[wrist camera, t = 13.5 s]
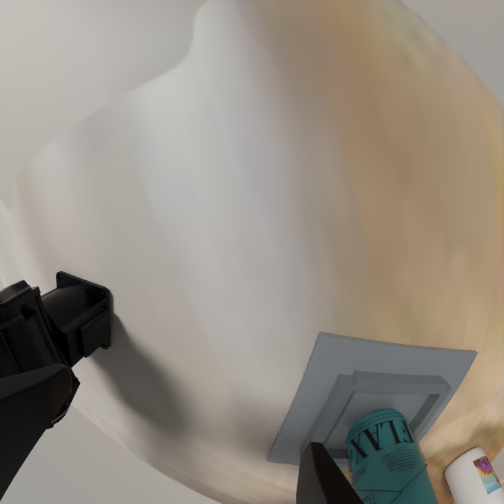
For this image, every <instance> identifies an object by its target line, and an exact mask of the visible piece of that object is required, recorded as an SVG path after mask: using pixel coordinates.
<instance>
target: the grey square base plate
mask: <svg viewBox="0 0 504 504" xmlns="http://www.w3.org/2000/svg"><path fill="white" fill-rule="evenodd" d="M477 354H478V353H477V352H476V351H472V350H457V349H444V348H432V347H422V346H413V345H404V344H396V343H388V342H380V341H373V340H366V339H359V338H353V337H346V336H340V335H334V334H328V333H322V332H319V335H318V338H317V340H316V343H315V346H314V349H313V352H312V354H311V357H310V360H309V362H308V365H307V367H306V370H305V373H304V375H303V378H302V380H301V383H300V385H299V388H298V390H297V393H296V395H295V397H294V400H293V402H292V404H291V407H290V409H289V411H288V414H287V416H286V418H285V420H284V423H283V425H282V427H281V429H280V431H279V434H278V436H277V438H276V440H275V442H274V444H273V446H272V448H271V450H270V452H269V454H268V456H267V460H266V461H268V462H275V463H284V464H294V465H300V459H301V455H302V453H303V451H304V450H305V448H306V446H307V445H308V443H309V442H311V441H313V442H321V443H322V444H323V445H324V446H325V448H326V449H327V451H328V452H329V454H330V455H331V457H332V458H333V460H334V461H335V463H336V464H337V466H338V467H351V466H350V461H349V455H348V453H346V449H347V444H346V441H345V440H346V438H347V434H348V431H349V430H350V428H351V427H352V426H353V425H354V424H355V423H356V422H358V421H359V420H360V419H362V418H363V417H365V416H367V415H369V414H372V413H374V412H377V411H381V410H396V411H399V412H400V413H402V414H403V415H405V418H406V420H407V419H408V420H407V422H408V424H409V426H410V424H411V427H410V429H411V431H414V435H413V436H414V438H415V441H416V440H417V441H416V443H417V442H418V443H419V442H420V440H421V439H422V438H423V437H424V435H425V434H426V433H427V432H428V430H429V429H430V428H431V427H432V425H433V424H434V423H435V421H436V420H437V418H438V417H439V416H440V414H441V413H442V412H443V410H444V409H445V407H446V406H447V404H448V403H449V401H450V400H451V398H452V397H453V395H454V394H455V392H456V390H457V389H458V387H459V386H460V384H461V382H462V381H463V379H464V377H465V376H466V374H467V372H468V370H469V369H470V367H471V365H472V363H473V361H474V359H475V357H476V356H477ZM412 434H413V432H412ZM418 443H417V444H418ZM345 445H346V446H345ZM345 447H346V448H345ZM347 452H348V450H347ZM347 455H348V459H347ZM348 461H349V465H348Z"/></svg>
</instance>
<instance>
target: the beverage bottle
mask: <svg viewBox="0 0 504 504" xmlns="http://www.w3.org/2000/svg"><path fill="white" fill-rule="evenodd" d="M407 420H408V419H407ZM407 420H406V418H405V415H403V414H402V413H400V412H399V411H396V410H381V411H377V412H374V413H372V414H369V415H367V416H365V417H363V418H362V419H360V420H359V421H358V422H356V423H355V424H354V425H353V426H352V427H351V428H350V430H349V431H348V434H347V438H346V440H345V441H346V444H347V449H346V453H348V455H349V461H350V466H351V471H350V467H349V471H350V472H352V475H350V476H352V478H353V479H352V480H353V483H352V482H351V484H353V486H354V490H355V491H356V492H357V494H358V495H359V497H360V498H361V499H362V501H363V502H364V503H365V504H438V501H437V498H436V495H435V492H434V490H433V487H432V484H431V481H430V479H429V476H428V473H427V469H426V467H427V464H424V461H425V460H424V461H423V458H422V456H421V453H420V451H421V450H420V451H419V448H418V446H419V445H418V446H417V443H418V442H417V443H416V441H417V440H416V441H415V438H414V436H413V435H414V431H411V429H410V427H411V424H410V426H409V424H408V422H407ZM412 432H413V434H412ZM345 446H346V445H345ZM419 447H420V446H419ZM345 448H346V447H345ZM420 449H421V448H420ZM347 450H348V452H347ZM422 454H423V453H422ZM348 455H347V459H348ZM423 457H424V456H423ZM349 461H348V465H349ZM425 465H426V466H425Z"/></svg>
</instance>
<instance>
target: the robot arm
mask: <svg viewBox="0 0 504 504" xmlns="http://www.w3.org/2000/svg"><path fill="white" fill-rule="evenodd" d="M56 282H57V288H56V289H54V290H52V291H50V292H48V293H46V294H44V295H42V296H41V295H40V293H41V292H40V289H39V286H38V287H33V288H31V287H30V285H28V284H27V283H26V282H25V280H22V281H19V282H17V283H15V284H13V285H10V286H8V287H6V288H4V289H3V290H1V291H0V501H1V499H2V497H3V495H4V494H5V492H6V490H7V489H8V487H9V485H10V484H11V482H12V480H13V479H14V477H15V475H16V474H17V472H18V471H19V469H20V467H21V466H22V464H23V463H24V461H25V460H26V458H27V457H28V455H29V454H30V452H31V450H32V449H33V447H34V446H35V444H36V443H37V442H38V440H39V439H40V437H41V436H42V434H43V433H44V431H45V430H46V429H49V428H52V427H53V426H54V424H55V423H57V422H59V421H60V420H61V419H62V418H63V417H64V416H65V414H66V413H67V411H68V408H69V406H70V404H71V402H72V400H73V398H74V396H75V393H76V391H77V389H78V387H79V385H80V382H79V380H78V378H77V377H76V376H75V374H74V373H73V371H72V369H71V368H72V367H73V366H74V365H75V364H76V363H77V362H78V361H80V360H81V359H82V358H83V357H85V358H87V357H89V356H90V355H91V354H92V353H93V352H94V351H95V350H96V349H97V348H98V347H101V348H103V349H108V348H109V347H110V346H111V343H110V336H111V332H110V313H109V291H108V289H107V288H106V287H103V286H101V285H98V284H95V283H92V282H89V281H87V280H84V279H81V278H78V277H76V276H73V275H70V274H68V273H65V272H63V271H60V272H57V274H56ZM102 291H103V292H104V294H103V293H102ZM296 504H365V503H364V502H363V501H362V499H361V498H360V497H359V495H358V494H357V492H356V491H355V490H354V488H353V487H352V486H351V484H350V483H349V481H348V480H347V478H346V477H345V476H344V474H343V473H342V471H341V470H340V468H339V467H338V466H337V464H336V463H335V461H334V460H333V458H332V457H331V455H330V454H329V452H328V451H327V449H326V448H325V446H324V445H323V444H322V443H321V442H313V441H311V442H309V443H308V445H307V446H306V448H305V450H304V451H303V453H302V455H301V459H300V468H299V476H298V484H297V492H296Z"/></svg>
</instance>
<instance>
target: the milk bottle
mask: <svg viewBox="0 0 504 504" xmlns="http://www.w3.org/2000/svg"><path fill="white" fill-rule="evenodd" d="M444 475H445V478H446V480H447V483H448V485H449V488H450V490H451V493H452V496H453V498H454V501H455V503H456V504H504V492H503V489H502V487H501V484H500V482H499V480H498V478H497V476H496V474H495V471H494V470H493V468H492V466H491V464H490V462H489V460H488V458H487V457H486V455H485V453H484V451H483V450H482V448H480V447H475V448H473V449H470V450H468V451H467V452H465V453H464V454H462V455H461V456H459V457H458V458H457V459H455V460H454V461H453V462H452V463H451V464H450V465H449V466H448V467H447V468H446V470H445V473H444Z"/></svg>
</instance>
